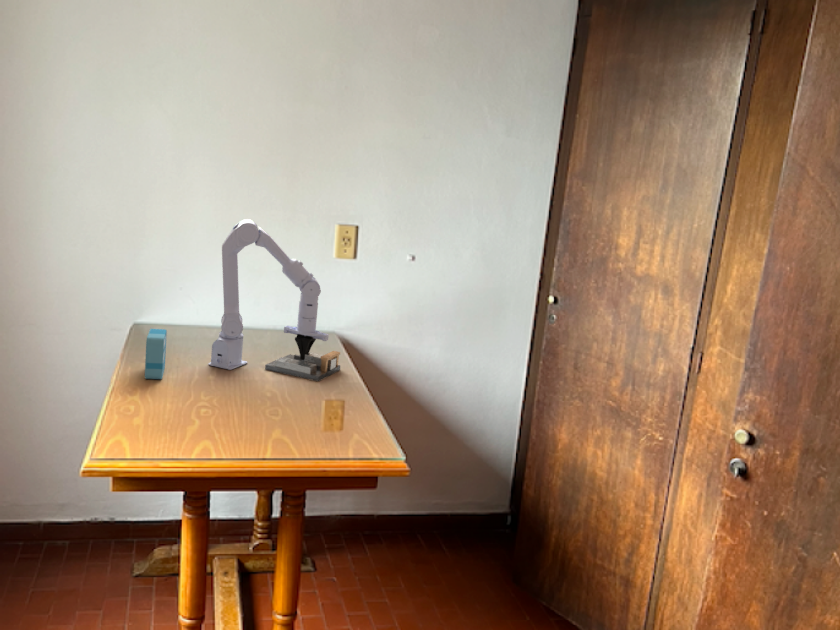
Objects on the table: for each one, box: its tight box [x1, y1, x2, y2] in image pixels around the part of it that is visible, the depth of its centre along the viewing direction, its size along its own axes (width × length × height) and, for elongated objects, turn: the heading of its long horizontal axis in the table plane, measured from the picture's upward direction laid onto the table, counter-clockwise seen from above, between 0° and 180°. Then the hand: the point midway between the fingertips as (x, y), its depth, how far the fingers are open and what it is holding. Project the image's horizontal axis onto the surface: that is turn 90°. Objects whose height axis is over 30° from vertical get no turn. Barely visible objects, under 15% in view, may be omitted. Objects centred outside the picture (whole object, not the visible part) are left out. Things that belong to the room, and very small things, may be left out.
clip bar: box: [304, 351, 336, 370], centre depth 241 cm, size 4×9×3 cm, turn 70°
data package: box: [144, 328, 168, 380], centre depth 219 cm, size 12×4×12 cm, turn 14°
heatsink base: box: [264, 350, 341, 382], centre depth 240 cm, size 15×18×6 cm
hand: (303, 358), depth 243 cm, fingers closed
